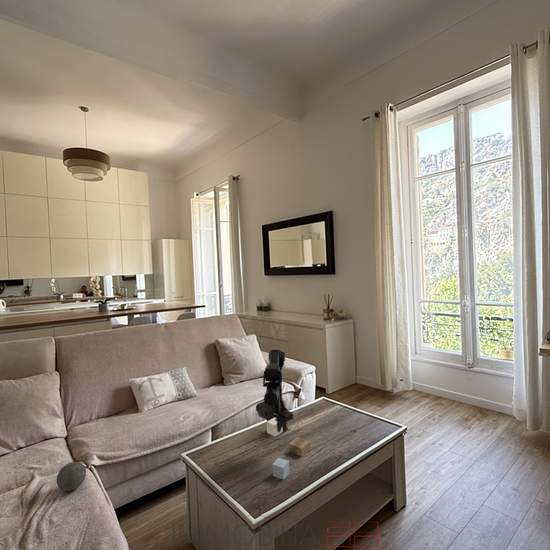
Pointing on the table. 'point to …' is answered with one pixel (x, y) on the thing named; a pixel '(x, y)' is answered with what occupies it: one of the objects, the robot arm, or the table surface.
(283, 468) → the slate cube
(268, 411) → the robot arm
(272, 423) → the cream cube
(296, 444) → the brown wooden block
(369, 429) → the table surface
